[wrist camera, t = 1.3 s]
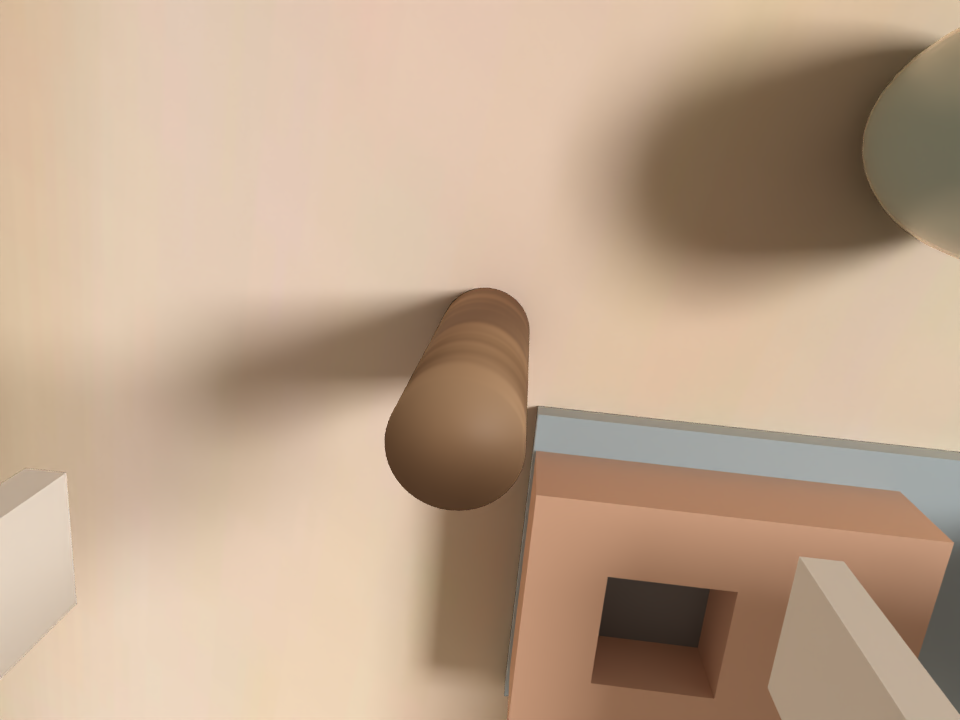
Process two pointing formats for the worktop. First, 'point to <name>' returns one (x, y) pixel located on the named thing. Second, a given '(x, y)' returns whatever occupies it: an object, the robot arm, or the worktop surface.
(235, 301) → the worktop surface
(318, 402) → the worktop surface
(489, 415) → the peg
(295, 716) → the worktop surface
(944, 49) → the cup
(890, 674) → the robot arm
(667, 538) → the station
